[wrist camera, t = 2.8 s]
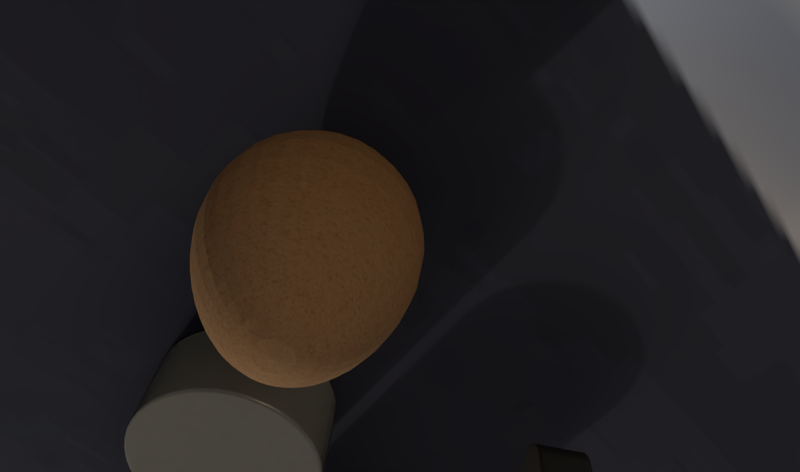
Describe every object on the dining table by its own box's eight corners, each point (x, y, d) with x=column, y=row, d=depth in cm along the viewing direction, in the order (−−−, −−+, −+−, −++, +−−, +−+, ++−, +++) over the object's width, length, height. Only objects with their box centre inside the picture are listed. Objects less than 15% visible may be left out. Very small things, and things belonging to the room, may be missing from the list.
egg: (212, 102, 16) (92, 250, 11) (416, 80, 15) (392, 226, 10) (259, 273, 18) (179, 463, 13) (439, 260, 18) (429, 453, 13)
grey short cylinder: (324, 324, 19) (306, 389, 17) (346, 461, 22) (333, 532, 20) (136, 327, 20) (98, 390, 17) (180, 460, 22) (150, 529, 20)
